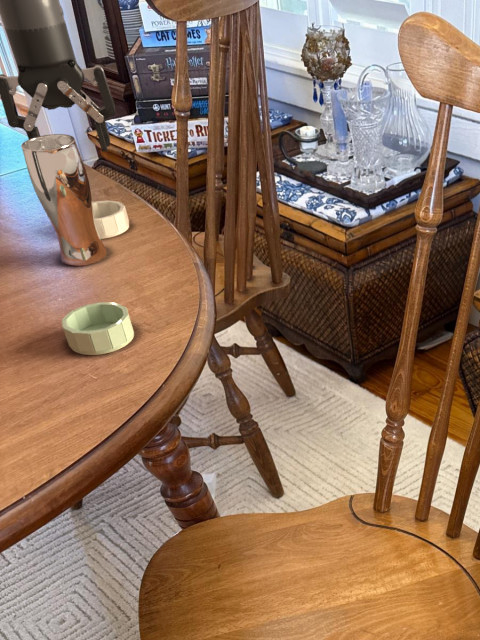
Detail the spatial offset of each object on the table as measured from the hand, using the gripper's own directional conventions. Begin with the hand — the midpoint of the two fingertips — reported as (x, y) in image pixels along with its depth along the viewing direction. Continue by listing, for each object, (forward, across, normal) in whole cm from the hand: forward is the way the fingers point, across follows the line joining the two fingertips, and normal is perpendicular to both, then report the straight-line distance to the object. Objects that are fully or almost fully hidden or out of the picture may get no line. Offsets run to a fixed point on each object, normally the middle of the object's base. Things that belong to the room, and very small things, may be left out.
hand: (74, 153), depth 112 cm
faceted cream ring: (+10, +1, -4) cm, 10 cm away
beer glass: (+10, -1, -13) cm, 16 cm away
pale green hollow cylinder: (+10, +1, -38) cm, 39 cm away
